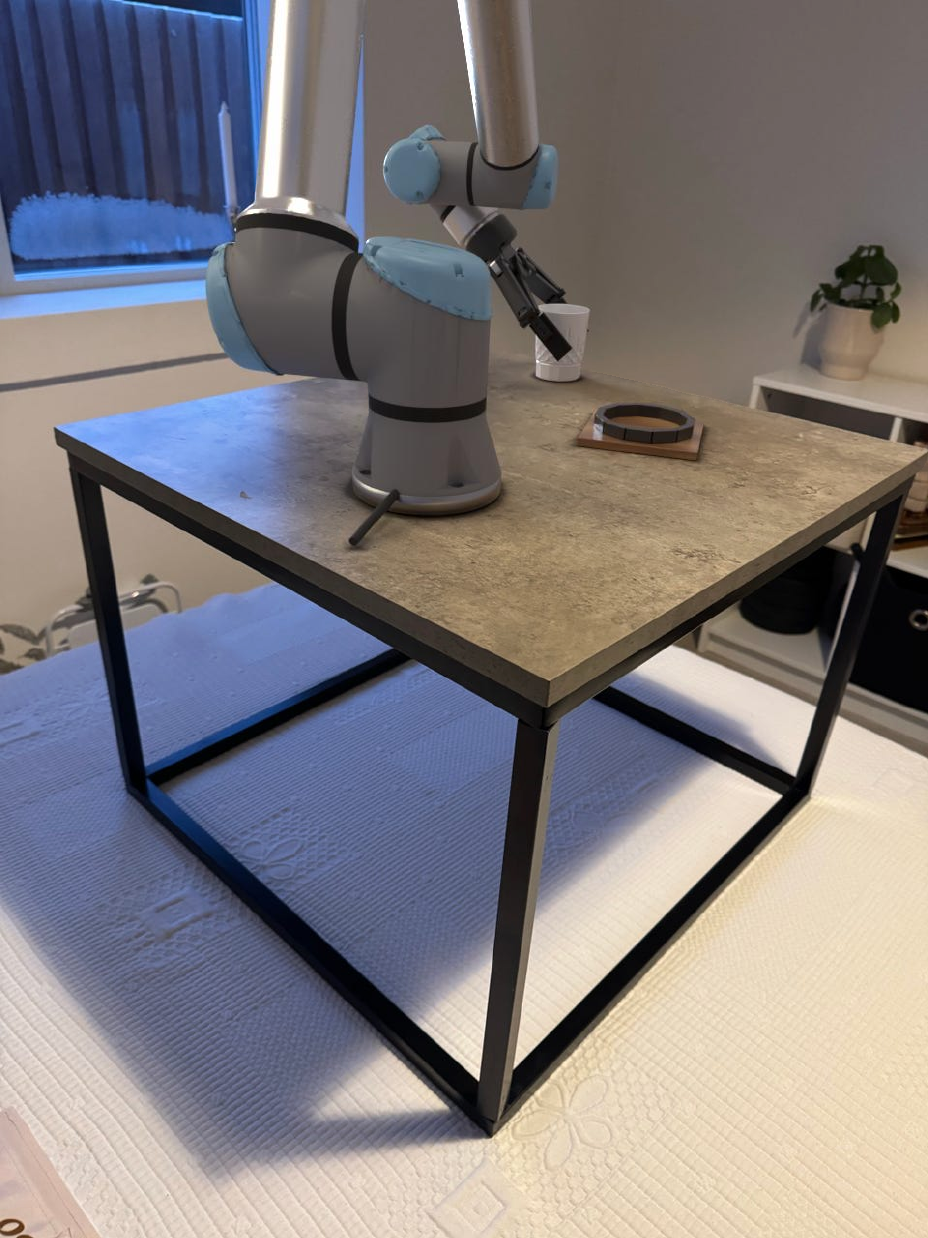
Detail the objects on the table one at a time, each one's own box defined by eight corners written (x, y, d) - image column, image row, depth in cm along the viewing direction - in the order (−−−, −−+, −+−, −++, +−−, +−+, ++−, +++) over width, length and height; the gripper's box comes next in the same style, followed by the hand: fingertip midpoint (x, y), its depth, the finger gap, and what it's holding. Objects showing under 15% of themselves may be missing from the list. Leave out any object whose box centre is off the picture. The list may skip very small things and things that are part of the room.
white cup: (559, 368, 136) (565, 302, 131) (593, 379, 131) (601, 310, 126) (521, 373, 132) (525, 305, 127) (554, 385, 127) (560, 314, 122)
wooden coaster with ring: (695, 460, 99) (699, 439, 98) (576, 445, 103) (578, 425, 101) (703, 427, 111) (706, 407, 110) (596, 414, 114) (598, 395, 113)
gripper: (476, 217, 112) (578, 345, 116) (521, 205, 133) (606, 314, 137) (437, 257, 116) (536, 380, 120) (486, 239, 137) (570, 345, 141)
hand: (574, 345), depth 129 cm, fingers open, 13 cm apart
